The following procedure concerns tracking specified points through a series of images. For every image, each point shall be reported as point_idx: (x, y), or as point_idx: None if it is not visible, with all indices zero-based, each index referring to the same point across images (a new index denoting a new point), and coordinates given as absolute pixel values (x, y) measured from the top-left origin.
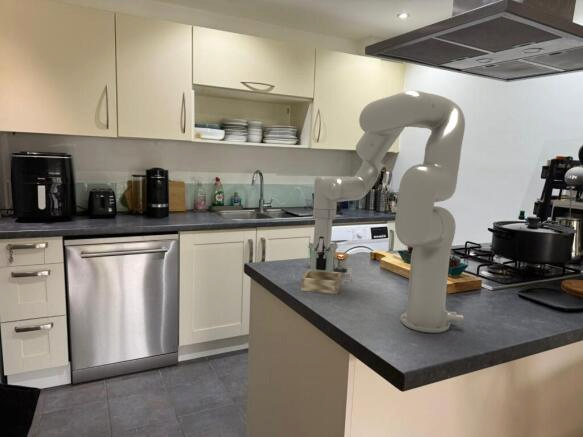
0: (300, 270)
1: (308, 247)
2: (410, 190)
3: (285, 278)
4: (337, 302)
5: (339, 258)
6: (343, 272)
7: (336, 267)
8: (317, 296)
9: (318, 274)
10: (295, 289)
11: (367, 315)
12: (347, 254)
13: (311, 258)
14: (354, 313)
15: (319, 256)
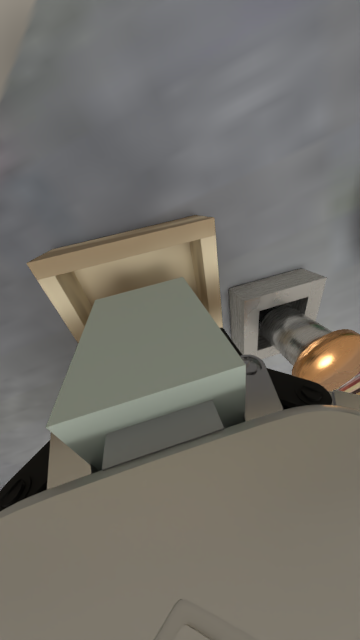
0: (352, 101)
1: None
2: None
3: (183, 54)
4: (45, 388)
5: (292, 369)
6: (257, 343)
7: (277, 327)
8: (42, 330)
9: (201, 280)
10: (43, 217)
11: (23, 450)
12: (330, 388)
13: (78, 354)
14: (8, 436)
15: (48, 452)
